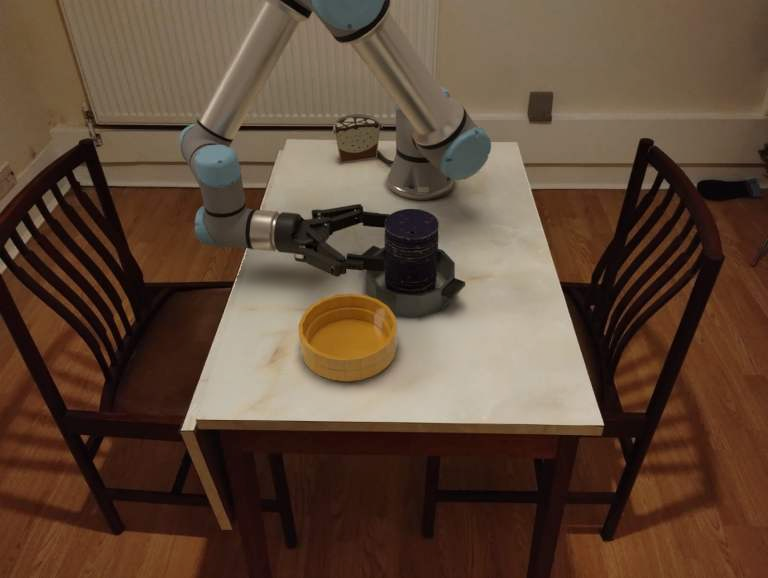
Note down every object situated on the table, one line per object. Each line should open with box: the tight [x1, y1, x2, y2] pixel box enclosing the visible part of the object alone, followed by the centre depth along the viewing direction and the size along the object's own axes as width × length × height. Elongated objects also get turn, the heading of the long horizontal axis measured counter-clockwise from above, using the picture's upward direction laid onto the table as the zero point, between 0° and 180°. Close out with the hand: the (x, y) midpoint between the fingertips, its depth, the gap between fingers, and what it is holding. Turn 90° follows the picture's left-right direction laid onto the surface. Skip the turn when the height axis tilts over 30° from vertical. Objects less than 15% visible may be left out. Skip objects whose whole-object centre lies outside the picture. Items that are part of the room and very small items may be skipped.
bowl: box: [298, 293, 398, 382], centre depth 114 cm, size 16×16×6 cm
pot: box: [361, 245, 466, 318], centre depth 126 cm, size 21×16×5 cm
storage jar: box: [383, 208, 440, 294], centre depth 123 cm, size 10×10×15 cm
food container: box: [332, 113, 383, 164], centre depth 167 cm, size 12×6×10 cm, turn 105°
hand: (390, 242), depth 122 cm, fingers open, 13 cm apart
